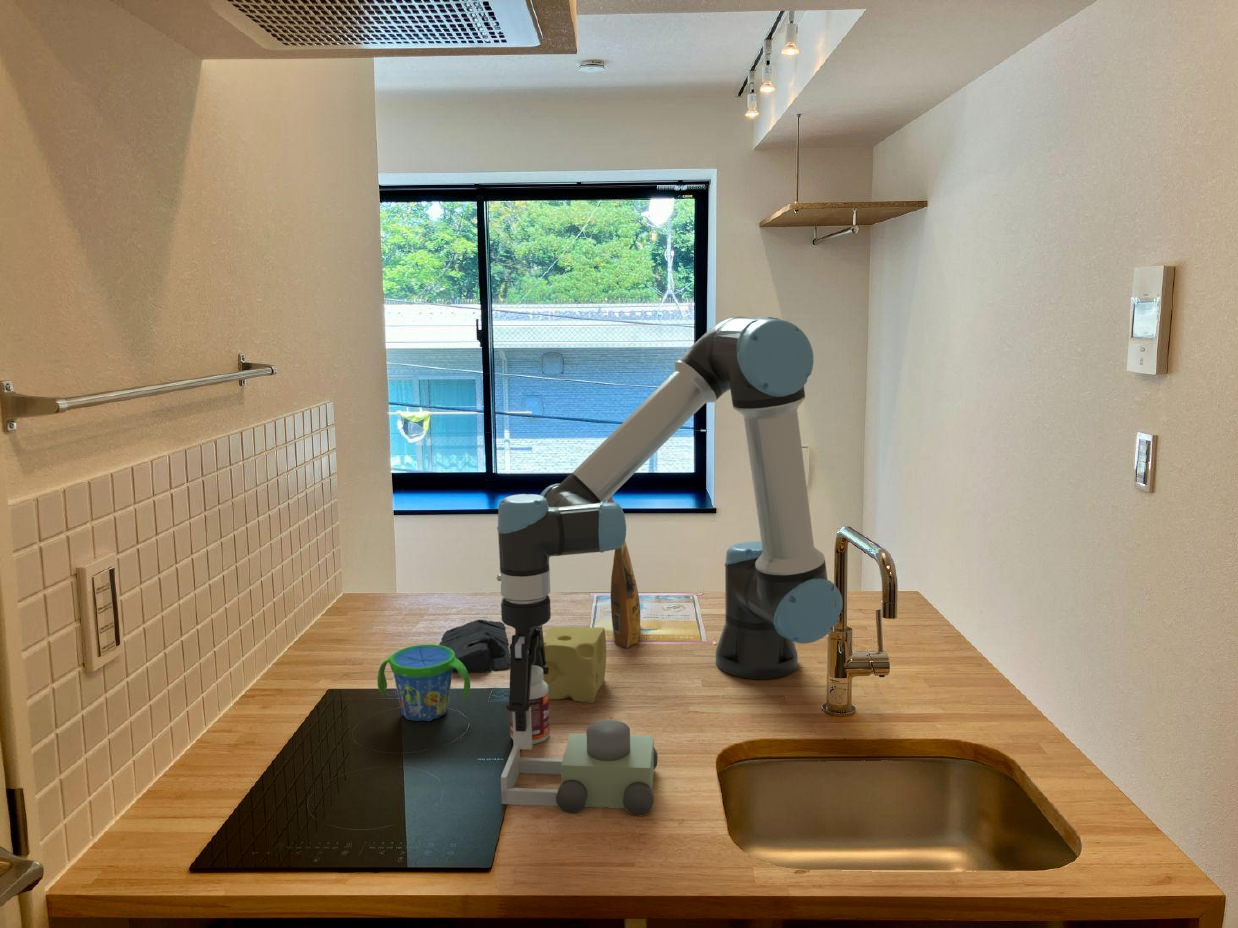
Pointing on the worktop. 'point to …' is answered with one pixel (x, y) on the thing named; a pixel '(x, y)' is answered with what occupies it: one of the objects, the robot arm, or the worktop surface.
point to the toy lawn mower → (590, 772)
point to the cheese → (575, 662)
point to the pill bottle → (537, 706)
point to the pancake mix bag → (624, 599)
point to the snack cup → (423, 680)
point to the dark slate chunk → (479, 646)
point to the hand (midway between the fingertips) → (530, 730)
